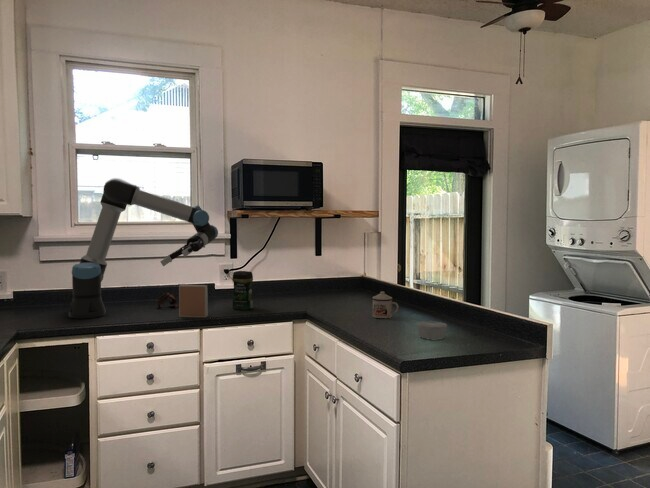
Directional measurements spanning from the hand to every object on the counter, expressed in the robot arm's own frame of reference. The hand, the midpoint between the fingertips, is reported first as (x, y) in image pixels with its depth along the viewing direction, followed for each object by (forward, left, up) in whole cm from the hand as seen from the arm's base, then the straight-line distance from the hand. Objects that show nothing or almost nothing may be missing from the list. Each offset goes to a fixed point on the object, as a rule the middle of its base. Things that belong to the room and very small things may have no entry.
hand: (172, 259), depth 231 cm
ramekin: (+112, -37, -26) cm, 120 cm away
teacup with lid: (+97, -1, -26) cm, 100 cm away
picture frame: (+11, -4, -25) cm, 28 cm away
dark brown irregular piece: (-9, +18, -26) cm, 33 cm away
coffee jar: (+29, +16, -26) cm, 42 cm away
